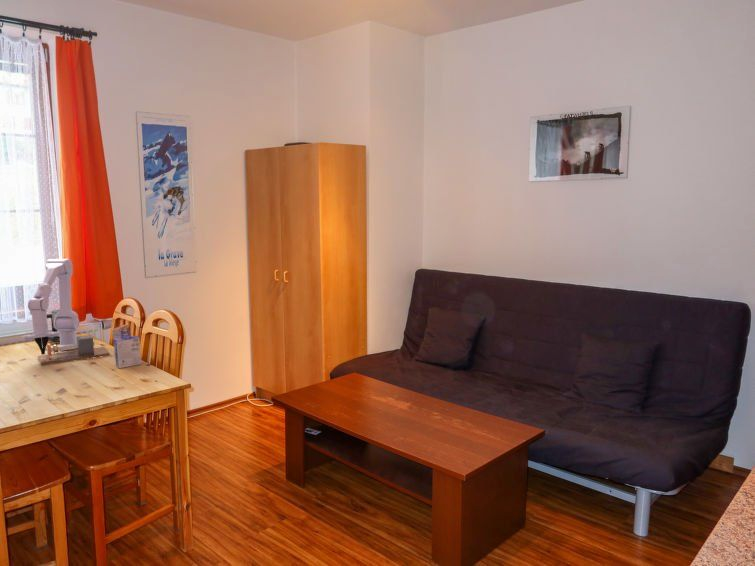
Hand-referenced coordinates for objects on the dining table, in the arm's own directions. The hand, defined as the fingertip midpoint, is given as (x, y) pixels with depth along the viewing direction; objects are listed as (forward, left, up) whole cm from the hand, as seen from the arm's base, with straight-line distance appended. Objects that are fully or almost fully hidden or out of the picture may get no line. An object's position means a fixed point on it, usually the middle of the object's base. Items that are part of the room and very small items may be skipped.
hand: (43, 353), depth 268 cm
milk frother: (-40, +10, -4) cm, 41 cm away
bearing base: (0, +12, -3) cm, 13 cm away
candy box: (+19, +30, -4) cm, 36 cm away
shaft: (0, +11, -1) cm, 11 cm away
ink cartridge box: (+29, +30, -4) cm, 42 cm away
